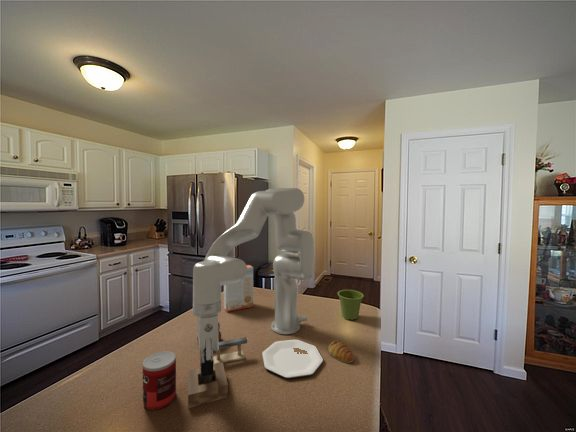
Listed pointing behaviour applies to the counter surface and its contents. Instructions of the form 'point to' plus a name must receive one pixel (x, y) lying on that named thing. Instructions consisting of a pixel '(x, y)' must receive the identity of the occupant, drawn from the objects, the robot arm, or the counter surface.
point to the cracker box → (239, 293)
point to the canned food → (159, 380)
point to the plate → (291, 359)
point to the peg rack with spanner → (230, 356)
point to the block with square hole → (207, 386)
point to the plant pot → (350, 303)
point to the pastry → (340, 352)
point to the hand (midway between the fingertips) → (206, 369)
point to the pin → (205, 378)
